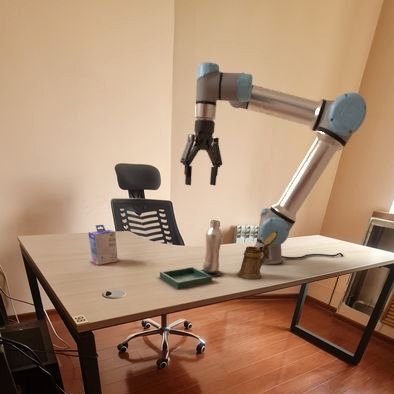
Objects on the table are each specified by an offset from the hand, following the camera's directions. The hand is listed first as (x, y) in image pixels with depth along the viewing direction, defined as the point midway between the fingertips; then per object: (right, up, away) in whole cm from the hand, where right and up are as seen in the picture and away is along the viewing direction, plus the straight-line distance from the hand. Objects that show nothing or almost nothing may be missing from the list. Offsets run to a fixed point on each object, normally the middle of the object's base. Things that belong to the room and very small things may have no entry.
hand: (200, 185), depth 124 cm
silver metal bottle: (+4, -36, +2) cm, 36 cm away
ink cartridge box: (-41, -30, +6) cm, 51 cm away
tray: (-6, -41, -7) cm, 42 cm away
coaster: (+4, -36, +2) cm, 36 cm away
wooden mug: (+23, -36, +4) cm, 43 cm away
